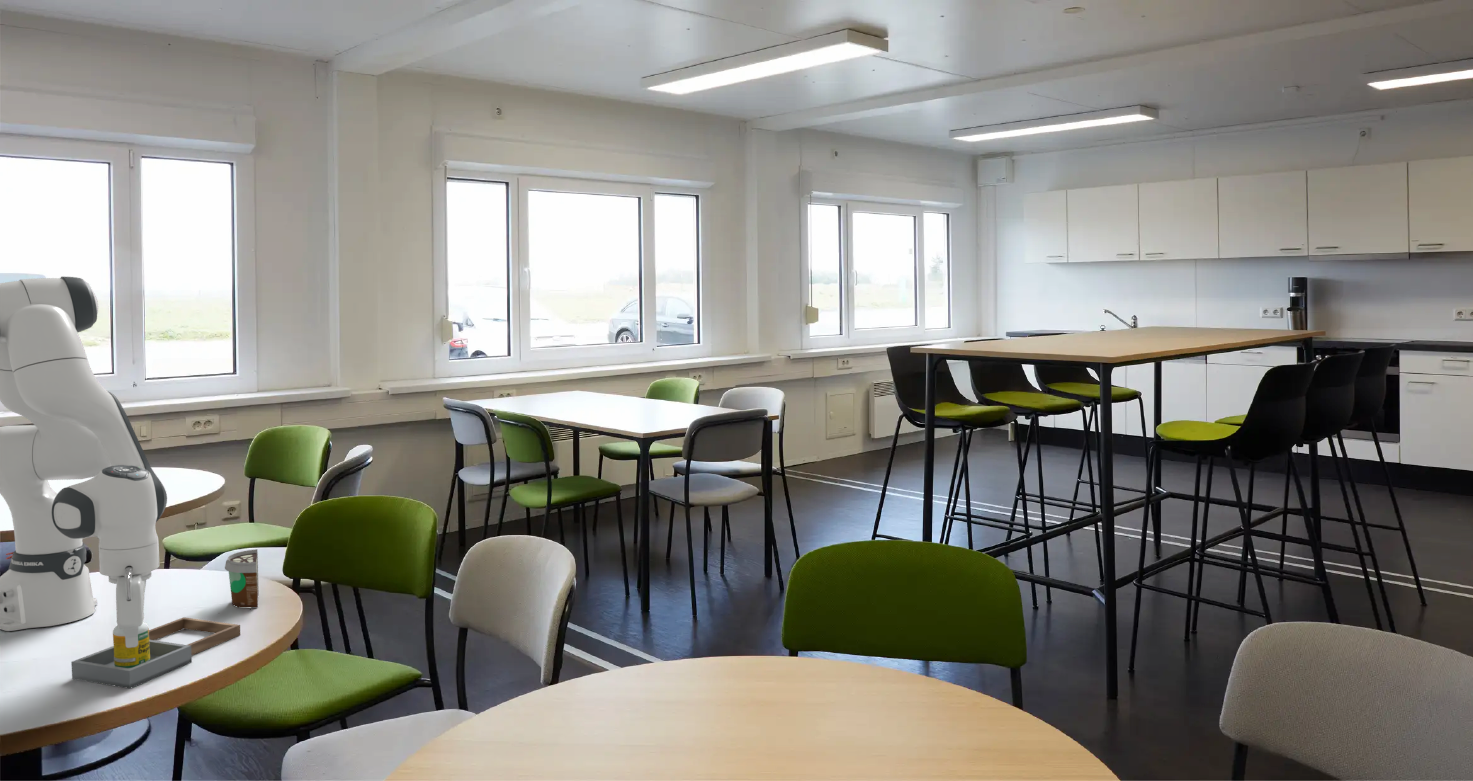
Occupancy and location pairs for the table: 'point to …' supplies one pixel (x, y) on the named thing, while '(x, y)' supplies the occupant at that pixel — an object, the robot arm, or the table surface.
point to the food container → (243, 578)
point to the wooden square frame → (220, 629)
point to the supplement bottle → (134, 654)
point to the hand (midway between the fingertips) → (132, 637)
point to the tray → (161, 662)
